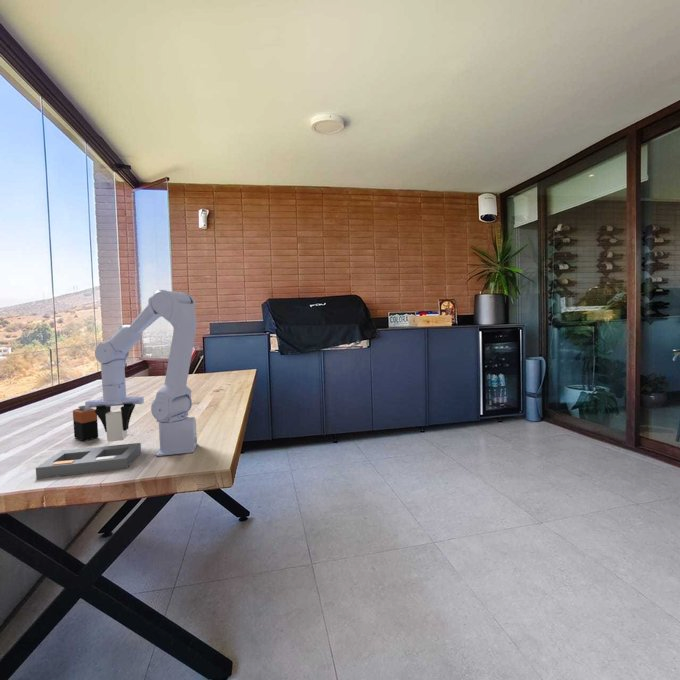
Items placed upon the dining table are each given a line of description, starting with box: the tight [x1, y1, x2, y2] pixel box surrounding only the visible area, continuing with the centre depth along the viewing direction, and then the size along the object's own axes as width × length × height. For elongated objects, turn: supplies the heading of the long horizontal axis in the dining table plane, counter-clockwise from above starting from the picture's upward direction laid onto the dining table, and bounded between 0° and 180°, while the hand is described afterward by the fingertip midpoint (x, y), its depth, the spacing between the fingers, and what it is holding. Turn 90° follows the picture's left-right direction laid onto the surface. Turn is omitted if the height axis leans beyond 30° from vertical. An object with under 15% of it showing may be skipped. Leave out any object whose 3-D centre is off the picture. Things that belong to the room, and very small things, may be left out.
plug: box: [106, 409, 128, 443], centre depth 105 cm, size 4×4×8 cm
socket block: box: [35, 442, 142, 479], centre depth 92 cm, size 19×12×3 cm, turn 104°
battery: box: [72, 405, 99, 442], centre depth 115 cm, size 4×7×10 cm, turn 57°
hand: (117, 430), depth 105 cm, fingers closed on plug, 4 cm apart
